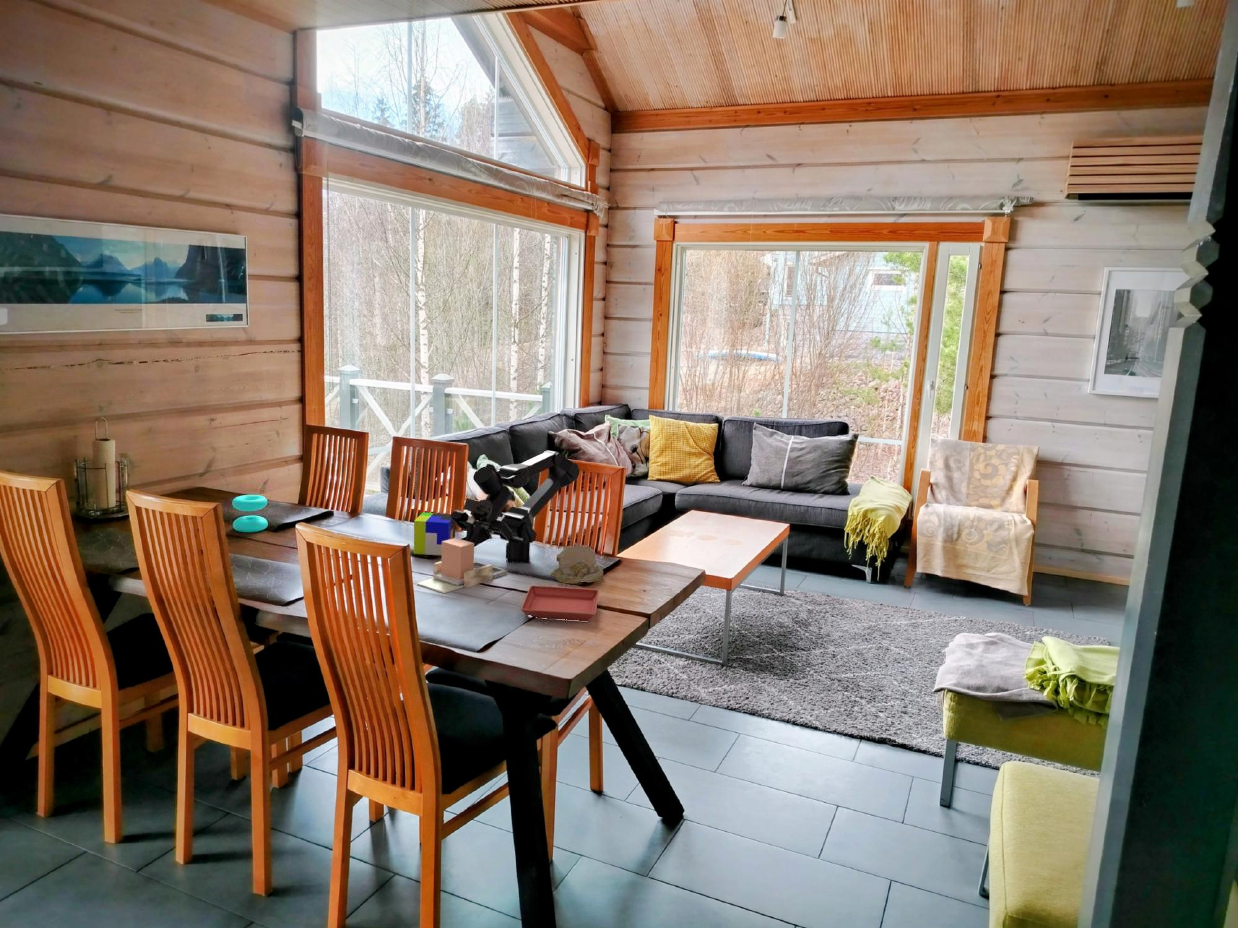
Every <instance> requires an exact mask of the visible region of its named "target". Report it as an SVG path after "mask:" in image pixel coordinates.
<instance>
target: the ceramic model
mask: <svg viewBox="0 0 1238 928" xmlns="http://www.w3.org/2000/svg"><path fill="white" fill-rule="evenodd" d="M596 558H597V557H596V552H595V550H594V549H593V548H591V547H590V545H588V544H582V545H581V543H580V542H574V545H568V546H565V548H564V549H563V550H561V552H560V553H558V554H557V555H556V558H555V560H556V562H558V567H557V568H556V569H554V570H553V571H551V572H550V574H551V575H553V576H554V577H555V578H554V577H553V576H552V577H553V578H554V579H556V581H558V582H559V583H565V584H572V585H573V584H579V583H578V582H582V581H583V582H587V583H595V582H598V581H599V582H600V581H601V580H602V578H603V576H604V570H603V569H602V568H600V567H599V566H597V563H598V562H597V559H596ZM551 575H550V576H551Z"/></svg>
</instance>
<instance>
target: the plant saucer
mask: <svg viewBox="0 0 1238 928" xmlns="http://www.w3.org/2000/svg"><path fill="white" fill-rule="evenodd" d="M599 595H600V590H599V589H593V588H592V589H591V588H575V587H574V588H573V587H562V586H561V587H560V586H545V585H544V586H543V585H530V586H529V588H528V591H527V594H526V596H525V598H524V600H523V603H522V605H521V607H520V610H521V611H522V612H523V613H524V615H525V616H526V615H531V616H535V617H537V618H547V619H565V620H566V619H567V620H579V621H588V622H590V620H592V618H593V617H594V616H595V615H596V613H597V606H598V602H599V601H598V600H599Z"/></svg>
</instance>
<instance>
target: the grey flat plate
mask: <svg viewBox="0 0 1238 928" xmlns="http://www.w3.org/2000/svg"><path fill="white" fill-rule="evenodd" d="M486 565H489V564H487V563H484V562H480V561H478V560H474V569H477V568H480V567H483V566H486ZM507 574H508V569H505V568H502V567H498V566H494V565H493V575H492V579H491V580H493V579H496V578H499V577H501V576H504V575H507Z"/></svg>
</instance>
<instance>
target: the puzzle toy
mask: <svg viewBox="0 0 1238 928" xmlns="http://www.w3.org/2000/svg"><path fill="white" fill-rule="evenodd" d="M451 515H452V513H450V514H449V513H435V512H422V513H420V515H419V516H418V517H417V518H416V519H414V521H413V522H414V523H413V554H414V555H428V556H429V555H430V556H431V555H432V556H442V541H446V540H449V539H453V538H456V523H455V522H454V521H453V520H452V519H451V517H450V516H451Z"/></svg>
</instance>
